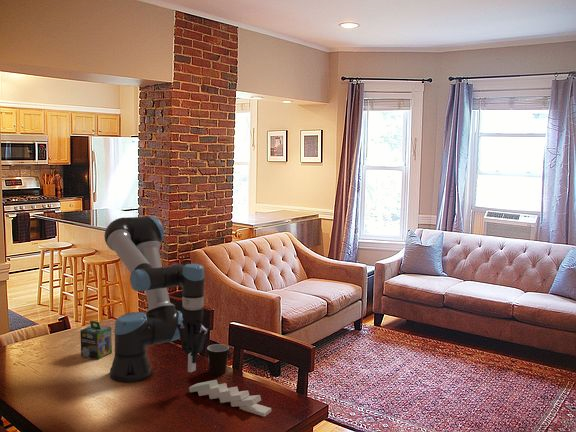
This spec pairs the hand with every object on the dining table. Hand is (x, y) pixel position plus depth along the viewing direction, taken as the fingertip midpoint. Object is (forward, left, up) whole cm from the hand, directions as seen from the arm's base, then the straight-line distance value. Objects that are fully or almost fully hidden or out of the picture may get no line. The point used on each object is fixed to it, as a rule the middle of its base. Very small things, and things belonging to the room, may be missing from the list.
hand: (191, 370), depth 193 cm
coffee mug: (-3, +20, -8) cm, 22 cm away
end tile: (+1, 0, -6) cm, 6 cm away
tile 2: (+5, 0, -7) cm, 8 cm away
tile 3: (+10, 0, -7) cm, 12 cm away
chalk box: (-56, +5, -8) cm, 56 cm away
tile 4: (+15, 0, -7) cm, 16 cm away
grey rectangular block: (+23, 0, -7) cm, 24 cm away
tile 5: (+20, 0, -7) cm, 21 cm away
